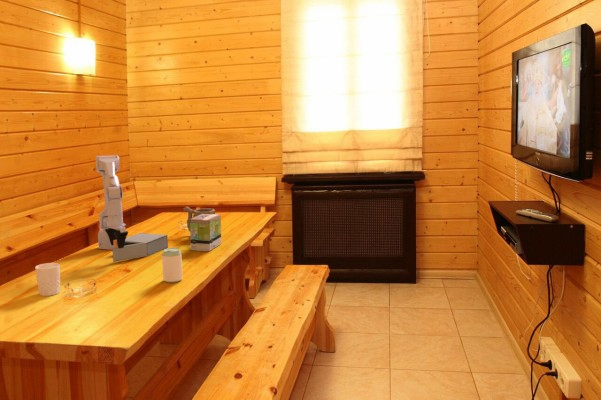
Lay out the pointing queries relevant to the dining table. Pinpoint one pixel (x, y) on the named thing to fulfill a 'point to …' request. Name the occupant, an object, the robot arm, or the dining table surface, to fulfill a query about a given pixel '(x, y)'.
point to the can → (172, 265)
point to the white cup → (48, 278)
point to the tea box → (205, 232)
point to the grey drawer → (129, 251)
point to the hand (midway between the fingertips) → (117, 246)
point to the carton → (149, 241)
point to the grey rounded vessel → (197, 213)
